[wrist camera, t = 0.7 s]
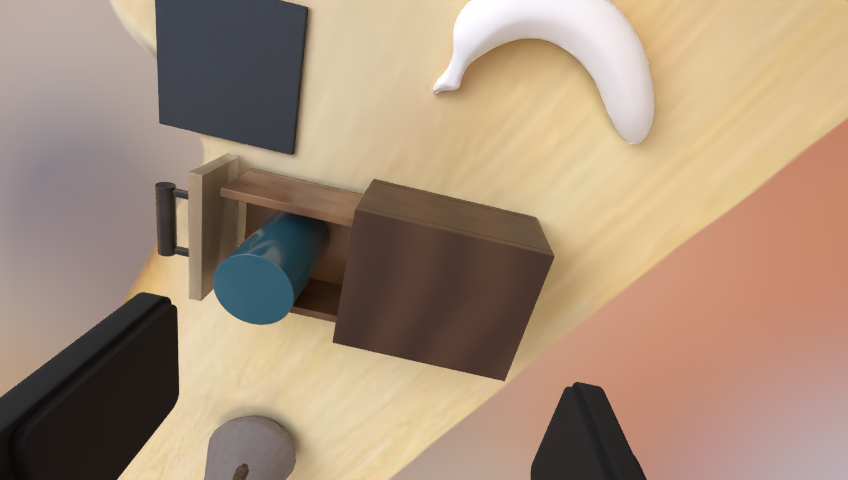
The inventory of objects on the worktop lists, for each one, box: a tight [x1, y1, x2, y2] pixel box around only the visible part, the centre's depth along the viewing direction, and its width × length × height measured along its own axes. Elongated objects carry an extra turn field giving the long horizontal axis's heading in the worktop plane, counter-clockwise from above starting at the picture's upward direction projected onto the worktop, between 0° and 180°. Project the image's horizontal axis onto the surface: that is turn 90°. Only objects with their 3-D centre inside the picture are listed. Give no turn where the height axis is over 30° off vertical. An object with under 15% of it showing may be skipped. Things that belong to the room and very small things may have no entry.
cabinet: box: [333, 179, 554, 381], centre depth 42 cm, size 17×14×9 cm
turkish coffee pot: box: [204, 416, 296, 480], centre depth 50 cm, size 21×12×15 cm, turn 153°
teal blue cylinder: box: [213, 210, 331, 325], centre depth 39 cm, size 8×6×11 cm
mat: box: [155, 0, 308, 155], centre depth 39 cm, size 13×13×1 cm
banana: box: [432, 0, 655, 144], centre depth 37 cm, size 5×19×15 cm
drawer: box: [155, 154, 364, 323], centre depth 42 cm, size 20×13×7 cm, turn 77°
